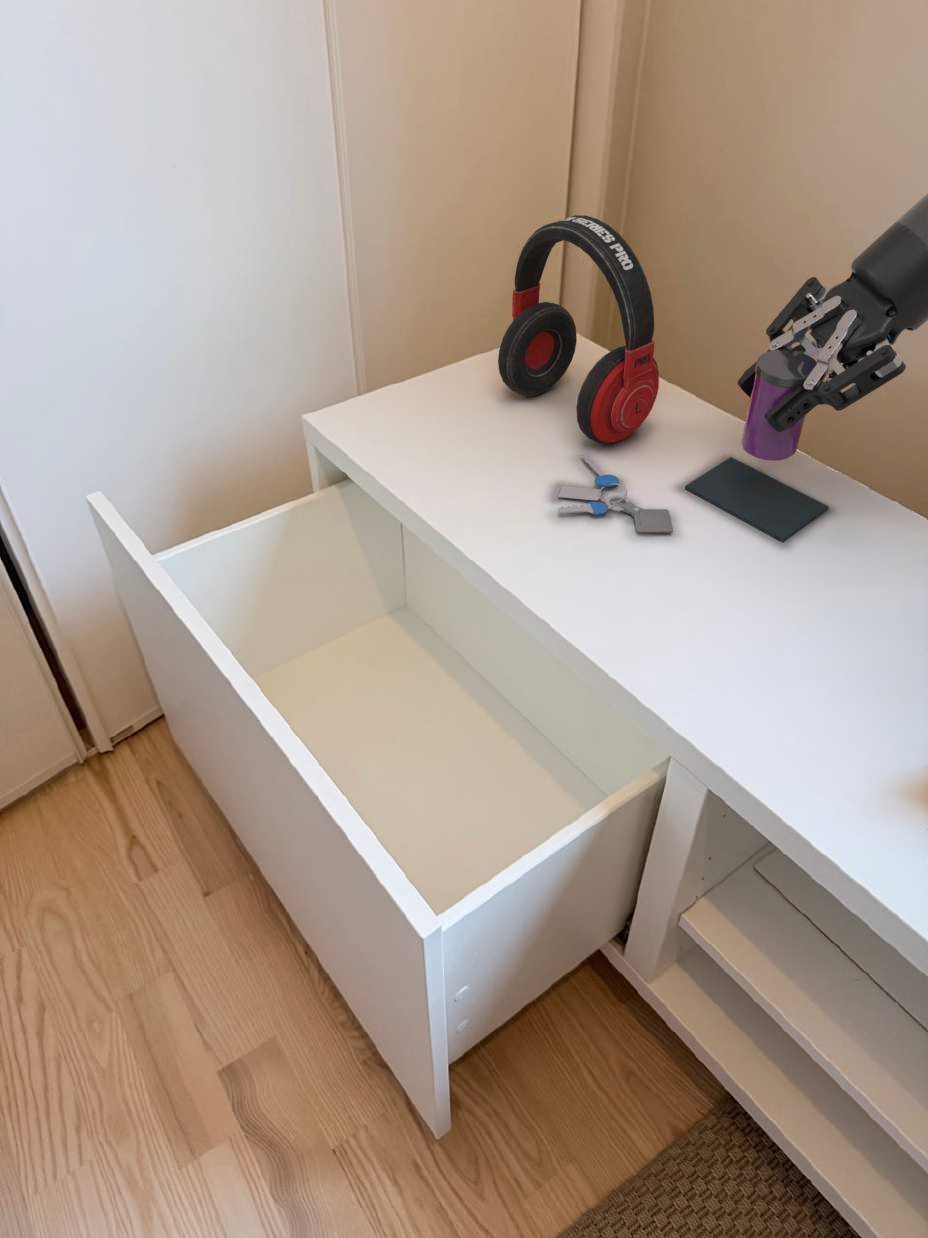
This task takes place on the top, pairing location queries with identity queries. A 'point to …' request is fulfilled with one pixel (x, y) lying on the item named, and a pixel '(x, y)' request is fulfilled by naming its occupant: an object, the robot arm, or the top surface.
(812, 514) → the mat
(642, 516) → the key chain
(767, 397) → the tin
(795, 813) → the top surface
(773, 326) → the robot arm
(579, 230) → the headphones
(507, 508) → the top surface
